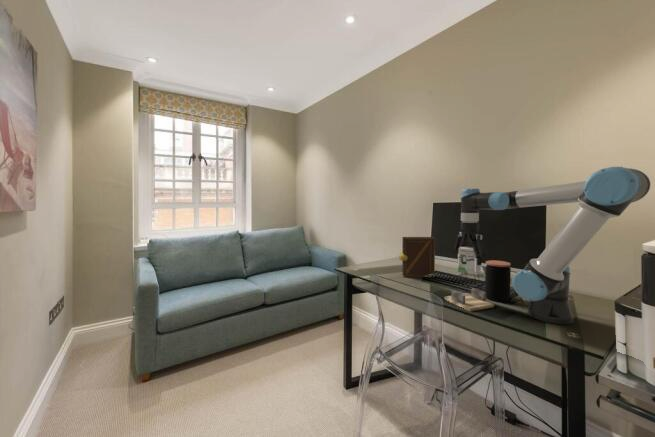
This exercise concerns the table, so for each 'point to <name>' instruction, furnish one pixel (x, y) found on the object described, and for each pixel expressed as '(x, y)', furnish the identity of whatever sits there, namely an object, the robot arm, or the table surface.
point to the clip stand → (470, 300)
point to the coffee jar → (497, 280)
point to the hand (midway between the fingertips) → (468, 269)
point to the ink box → (467, 260)
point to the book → (418, 256)
